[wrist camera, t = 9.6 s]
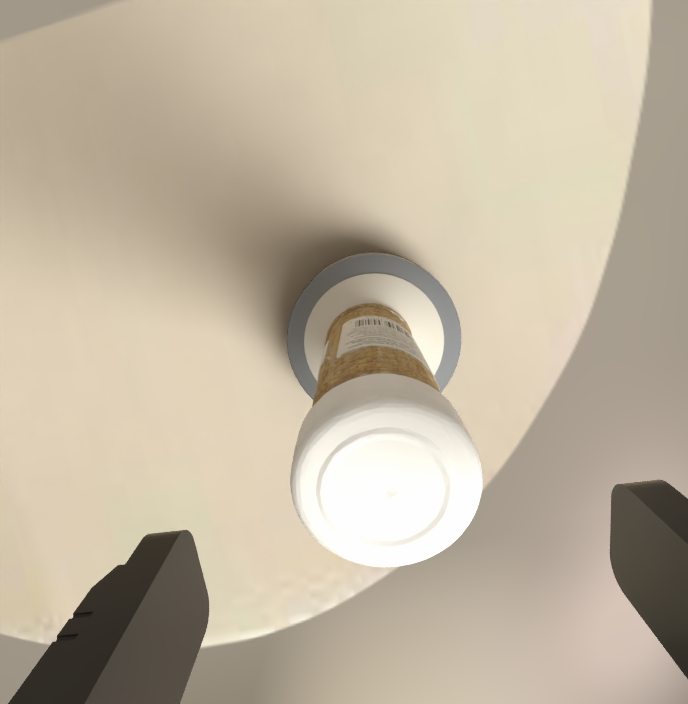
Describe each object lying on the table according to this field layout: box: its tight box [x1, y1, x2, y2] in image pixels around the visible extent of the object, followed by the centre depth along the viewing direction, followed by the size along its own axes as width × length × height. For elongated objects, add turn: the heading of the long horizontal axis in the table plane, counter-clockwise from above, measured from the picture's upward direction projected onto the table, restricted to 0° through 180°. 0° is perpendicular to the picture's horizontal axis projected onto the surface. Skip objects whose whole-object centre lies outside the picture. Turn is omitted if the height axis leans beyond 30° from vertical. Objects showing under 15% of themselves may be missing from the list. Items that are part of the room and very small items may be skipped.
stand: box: [287, 252, 461, 400], centre depth 24 cm, size 9×9×3 cm
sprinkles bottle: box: [290, 303, 482, 567], centre depth 17 cm, size 5×5×14 cm
